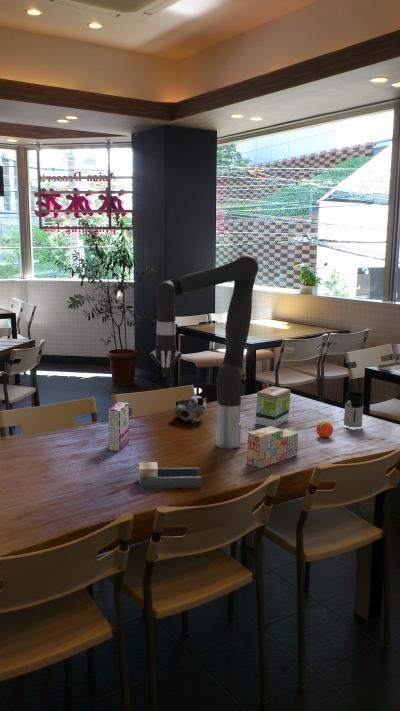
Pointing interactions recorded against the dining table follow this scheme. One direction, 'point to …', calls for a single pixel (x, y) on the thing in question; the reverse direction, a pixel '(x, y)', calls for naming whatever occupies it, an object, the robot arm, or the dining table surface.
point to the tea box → (272, 406)
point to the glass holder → (353, 409)
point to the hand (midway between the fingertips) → (165, 376)
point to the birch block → (147, 470)
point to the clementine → (324, 429)
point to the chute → (173, 478)
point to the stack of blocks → (270, 445)
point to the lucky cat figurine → (191, 409)
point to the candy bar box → (118, 426)
